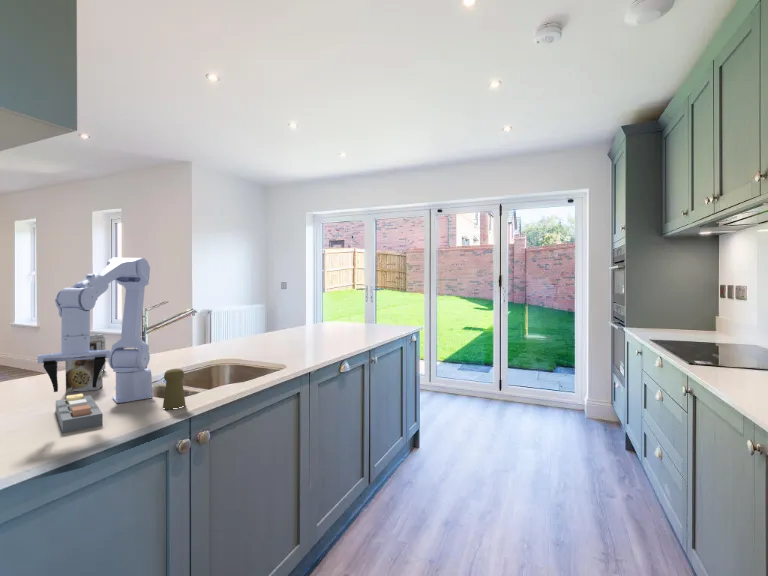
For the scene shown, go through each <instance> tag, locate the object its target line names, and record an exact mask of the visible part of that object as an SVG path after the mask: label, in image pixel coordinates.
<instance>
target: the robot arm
mask: <svg viewBox="0 0 768 576" xmlns="http://www.w3.org/2000/svg"><path fill="white" fill-rule="evenodd" d="M150 274H151V266H150V264H149V262H148V260H147V259H146V258H144V257H115V256H114V257H111V258H110V259H109V260H107V262H106V266H104V268H103V269H102V270H101V271H100V272H98V273H87V274H86V275H85V278H83V279H82V280H80V281H78V282H76V283H75V284H74V285H73V286H71V287H64V288H63V289H61V290H60V291H58V293H57V294H56V298H55V299H54V302H55V306H56V308H57V310H58V316H59V317H60V318H61V330H60V331H61V333H60V334H61V338H60V340H61V342H60V343H61V345H60V346H61V348H60V349H61V351H60V352H54V353H43V354H38V355H37V365H38V364H43V365H42V366H43V368H44V370H45V373H47V375H48V377H49V379H50V381H51V385H52V388H53V393H57V392H58V391H59V384H58V382H59V381H58V362H65V361H71V360H84V359H94V372H93V388H94V387H96V383H97V379H98V376H99V373H100V371H101V369H102V367H103V365H104V363H105V364H106V359H107V360H108V362H107V363H108V365H109V368H111V369H112V371H113V372H114V373H115V395H114V396H112V397H111V398H112V399H113V400H114V402H115V403H116V404H121V403H127V402H133V401H139V400H146V399H152V398H153V391H152V390H153V388H152V387H153V385H152V384H153V382H152V381H153V380H152V379H153V377H152V371H151V369H150V368H147V366H148V365H149V364H150V360H151V359H150V357H151V356H150V351H149V350H150V349H149V348H150V345H149V344H148V343H147V342H145V341H144V340H143V339H141V334H142V333H141V331H142V321H143V311H144V309H143V308H144V299H145V289H146V286H147V285H149V284H150V283H149V282H150ZM114 281H115V282H116V283H117V284H119V285H120V286H122V287H124V289H125V295H124V305H123V306H124V307H123V315H122V323H121V335H120V338H119V340H117V341H116V342H115V343H113V344H112V346H111V349H105V350H90V335H91V329H90V328H91V310H93V309H94V307H95V305H96V302H97V301H98V299H99V297H100V296H101V295H103V294H104V293H105V292H106V291H108V289H109V284H110V283H111V282H114ZM128 348H129V349H128ZM135 348H136V349H135ZM83 356H85V357H83ZM72 357H81V358H72ZM66 358H68V359H66ZM150 397H151V398H150Z"/></svg>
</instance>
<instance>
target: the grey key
mask: <svg viewBox="0 0 768 576" xmlns="http://www.w3.org/2000/svg"><path fill="white" fill-rule="evenodd" d="M83 405H87V401H86V399H81V400H75V401H69V410H71V407H77V406H83Z"/></svg>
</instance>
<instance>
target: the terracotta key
mask: <svg viewBox="0 0 768 576" xmlns="http://www.w3.org/2000/svg"><path fill="white" fill-rule="evenodd" d="M86 414H91V407H90V406H89V405H83V406H77V407H71V415H72V417H74V416H80V415H86Z"/></svg>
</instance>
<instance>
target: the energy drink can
mask: <svg viewBox="0 0 768 576" xmlns="http://www.w3.org/2000/svg"><path fill="white" fill-rule="evenodd" d="M104 335H105V334H104V333H103V334H102V333H95V334H93V333H92V334H90V341H100V340H102V350H106V337H105V336H104ZM102 370H104V371H105V370H106V362H105V363H104V365H103V367H102Z"/></svg>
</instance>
